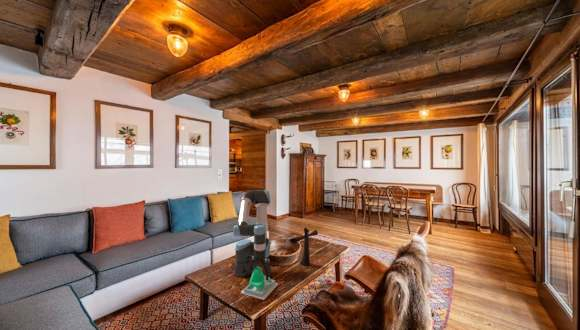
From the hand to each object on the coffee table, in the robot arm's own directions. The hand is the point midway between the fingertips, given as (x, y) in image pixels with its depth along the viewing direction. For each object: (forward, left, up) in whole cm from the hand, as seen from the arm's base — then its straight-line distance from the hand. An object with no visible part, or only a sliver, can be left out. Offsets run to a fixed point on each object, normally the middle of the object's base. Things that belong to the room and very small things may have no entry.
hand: (259, 283), depth 149 cm
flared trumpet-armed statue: (+14, +46, -4) cm, 48 cm away
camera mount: (0, 0, -1) cm, 1 cm away
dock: (0, 0, -4) cm, 4 cm away
